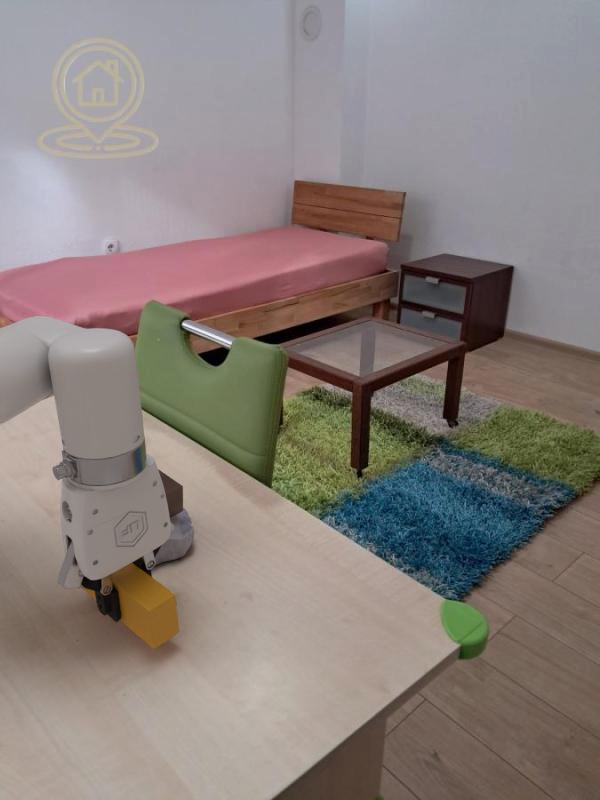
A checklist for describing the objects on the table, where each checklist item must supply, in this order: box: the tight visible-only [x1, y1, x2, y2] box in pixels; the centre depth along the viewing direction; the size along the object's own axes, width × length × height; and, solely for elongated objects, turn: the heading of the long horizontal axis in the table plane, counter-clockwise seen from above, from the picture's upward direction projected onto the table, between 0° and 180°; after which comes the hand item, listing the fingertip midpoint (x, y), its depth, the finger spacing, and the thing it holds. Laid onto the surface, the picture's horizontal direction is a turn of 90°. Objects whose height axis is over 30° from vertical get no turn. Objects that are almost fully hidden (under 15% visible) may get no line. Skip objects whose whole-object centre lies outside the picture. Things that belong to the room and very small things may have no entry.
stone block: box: [155, 507, 195, 566], centre depth 83 cm, size 12×5×10 cm
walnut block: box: [158, 468, 184, 518], centre depth 81 cm, size 6×6×4 cm
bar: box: [79, 563, 180, 650], centre depth 68 cm, size 3×14×5 cm, turn 48°
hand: (126, 603), depth 69 cm, fingers closed on bar, 3 cm apart
